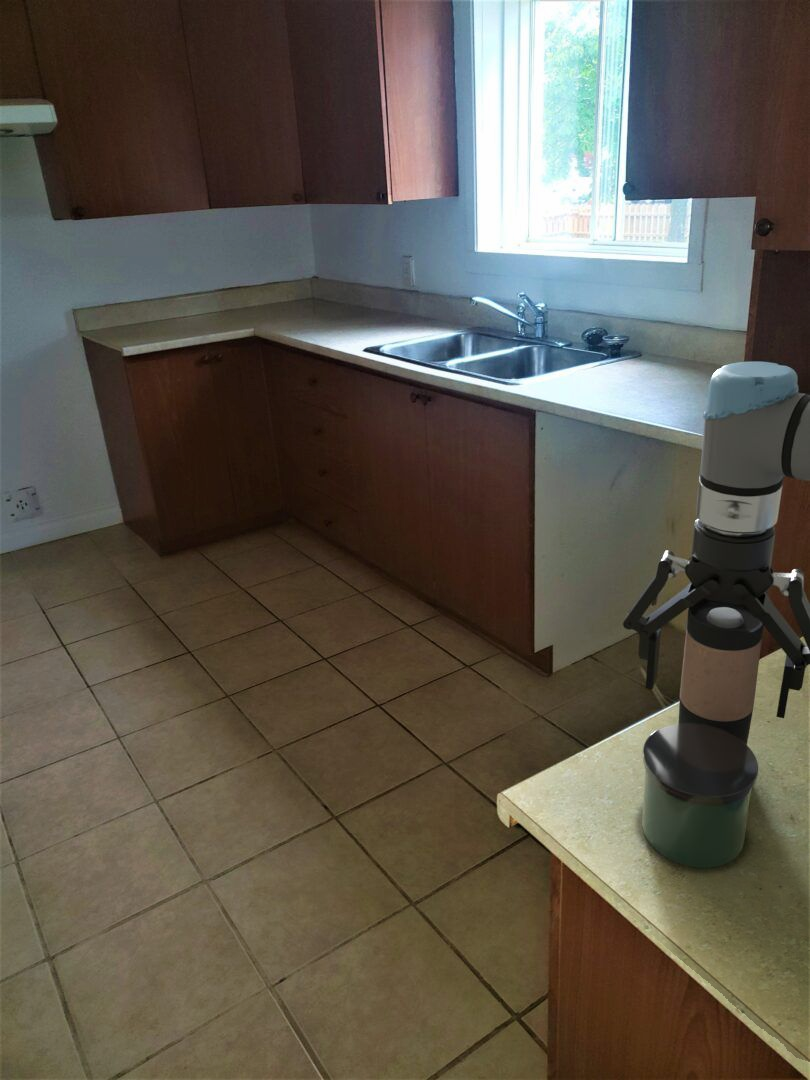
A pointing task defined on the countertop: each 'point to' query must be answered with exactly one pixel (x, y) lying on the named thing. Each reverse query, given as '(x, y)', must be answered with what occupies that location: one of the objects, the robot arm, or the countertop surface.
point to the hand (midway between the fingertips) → (714, 696)
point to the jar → (697, 793)
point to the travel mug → (720, 668)
